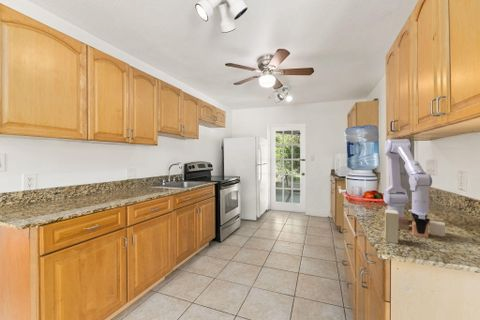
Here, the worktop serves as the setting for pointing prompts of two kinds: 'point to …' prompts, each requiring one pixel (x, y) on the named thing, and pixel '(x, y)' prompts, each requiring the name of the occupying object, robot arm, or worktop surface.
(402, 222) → the walnut cube
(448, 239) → the worktop surface
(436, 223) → the beige cube
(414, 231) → the terracotta cube
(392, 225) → the skincare box
